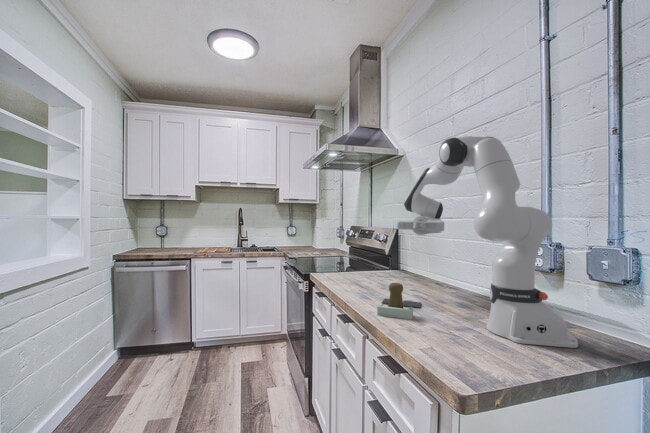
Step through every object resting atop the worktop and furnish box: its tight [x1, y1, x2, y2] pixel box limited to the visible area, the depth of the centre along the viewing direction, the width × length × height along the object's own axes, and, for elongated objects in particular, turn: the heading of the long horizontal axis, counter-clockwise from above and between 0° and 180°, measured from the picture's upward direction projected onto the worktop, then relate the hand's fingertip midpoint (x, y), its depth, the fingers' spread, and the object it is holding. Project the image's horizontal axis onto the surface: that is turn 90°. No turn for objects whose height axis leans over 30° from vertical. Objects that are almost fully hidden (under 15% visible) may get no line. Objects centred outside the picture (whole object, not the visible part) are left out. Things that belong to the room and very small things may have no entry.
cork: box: [387, 282, 404, 309], centre depth 108 cm, size 6×6×11 cm
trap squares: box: [381, 298, 422, 309], centre depth 119 cm, size 15×7×1 cm, turn 67°
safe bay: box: [376, 302, 414, 321], centre depth 105 cm, size 12×4×3 cm, turn 67°
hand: (418, 225), depth 123 cm, fingers closed
